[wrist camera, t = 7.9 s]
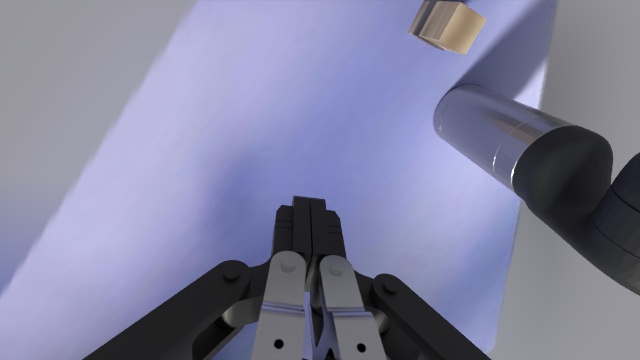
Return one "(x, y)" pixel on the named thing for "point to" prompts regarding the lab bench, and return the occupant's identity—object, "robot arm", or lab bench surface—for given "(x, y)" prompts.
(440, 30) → the banded post
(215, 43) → the lab bench surface
